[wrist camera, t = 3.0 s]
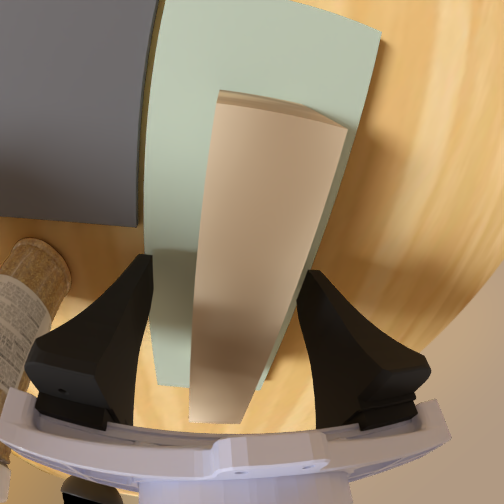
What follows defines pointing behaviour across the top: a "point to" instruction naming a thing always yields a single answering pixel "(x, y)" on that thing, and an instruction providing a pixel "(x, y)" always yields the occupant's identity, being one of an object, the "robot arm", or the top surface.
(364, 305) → the top surface
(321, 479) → the robot arm
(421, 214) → the top surface
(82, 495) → the bowl of black rocks
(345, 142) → the sage board
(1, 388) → the sprinkles bottle
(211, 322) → the beige long block
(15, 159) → the rubber mat
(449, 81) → the top surface
